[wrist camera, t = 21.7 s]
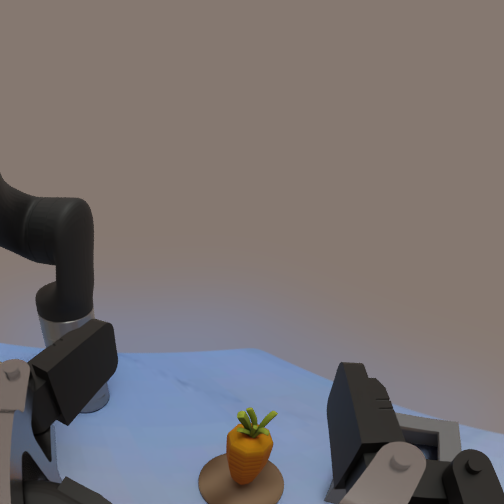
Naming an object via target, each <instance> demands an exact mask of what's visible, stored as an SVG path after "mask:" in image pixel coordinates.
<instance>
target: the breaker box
mask: <svg viewBox="0 0 504 504" xmlns="http://www.w3.org/2000/svg"><path fill="white" fill-rule="evenodd" d="M395 414H396V417H397V419H398V422H399V425H400V427H401V430H402V433H403V436H404V438H405V441H406V442H407V443H413V444H420V445H427V446H436V447H438V461H449V462H452V460H453V459H454V458H455V457H456V455H457V454H458V453H460V452H461V441H460V432H459V424H458V422H453V421H444V420H437V419H430V418H424V417H417V416H412V415H406V414H401V413H395ZM345 495H346V489H334V482H333V480H332V483H331V485H330V488H329V490H328V493H327V495H326V497H325V500H324V501H327V502H331V503H335V504H338V503H339V502H340V501H341V500H342V499H343V498H344V496H345Z"/></svg>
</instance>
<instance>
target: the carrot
mask: <svg viewBox="0 0 504 504" xmlns="http://www.w3.org/2000/svg"><path fill="white" fill-rule="evenodd" d="M246 410H247V412H248V415H249V417H250V419H251V422H252V423H251V422H250V419H249V417H248V415H247V414H246V412H245V411H240V412H238V414H237V418H238V420H239V421H240V422H241V424H238V425H237V426H236V427H235V428H234V429H232V430H231V431H230V432H229V433H228V435H227V450H226V455H227V461H228V466H229V470H230V474H231V477H232V478H233V480H234V481H235V482H237V483H238V484H240V485H245V484H249V483H250V482H252V481H253V480H254V479H255V478H256V477H257V476H258V474H259V473H260V472H261V471H262V469H263V468H264V466H265V465H266V463H267V461H268V458H269V456H270V453H271V450H272V447H273V441H272V438H271V435H270V432H269V430H268V429H266V428H264V427H265V426H266V425H267V424H268V423H269V422H270V421H271V420H272V419H273V418H274V417H275V416H276V415H277V414H278V413H277V412H275V411H272V412H270V413H269V414H268V415H267V416H266V417H265V418H264V419H263V421H262V422H261V423H260V425H258V424H257V417H256V414H255V412H254V410H253V408H247V409H246Z"/></svg>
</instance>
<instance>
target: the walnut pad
mask: <svg viewBox="0 0 504 504" xmlns="http://www.w3.org/2000/svg"><path fill="white" fill-rule="evenodd" d="M199 489H200V492H201V495H202V497H203V498H204V500H205V501H206V502H207V503H208V504H276V503H277V502H278V501H279V499H280V497H281V495H282V493H283V489H284V481H283V477H282V474H281V473H280V471H279V469H278V468H277V467H276V466H275V465H274V464H273V463H271V462H270V461H269V460H268V461H267V463H266V465H265V466H264V468H263V469H262V471H261V472H260V473H259V474H258V476H257V477H256V478H255V479H254V480H253V481H252V482H250V483H249V484H245V485H240V484H238V483H237V482H235V481H234V480H233V478H232V477H231V474H230V470H229V466H228V461H227V455H226V454H223V455H220V456H217V457H215V458H213V459H212V460H210V461H209V462H208V463H207V464H206V465H205V466H204V467H203V468H202V470H201V472H200V475H199Z"/></svg>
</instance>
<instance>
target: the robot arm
mask: <svg viewBox="0 0 504 504" xmlns="http://www.w3.org/2000/svg"><path fill="white" fill-rule="evenodd" d="M0 246H1V247H3V248H5V249H7V250H10V251H12V252H14V253H16V254H19V255H21V256H22V257H25V258H27V259H29V260H31V261H34V262H37V263H43V264H49V265H56V281H55V282H52V283H49V284H47V285H45V286H43V287H42V288H41V289H40V290H39V291H38V292H37V294H36V306H37V311H38V315H39V320H40V325H41V330H42V333H43V338H44V342H45V346H46V349H44V350H43V351H42V352H40V353H39V354H38V355H36V356H35V357H34V358H32V359H31V360H30V361H29V362H27V363H26V362H25V361H23V360H19V359H11V360H7V361H5V362H3V363H1V364H0V504H112V503H111V502H109V501H108V500H107V499H105V498H104V497H103V496H101V495H100V494H98V493H96V492H94V491H92V490H90V489H88V488H86V487H84V486H83V485H81V484H79V483H77V482H75V481H73V480H72V479H70V478H68V477H65V478H64V480H63V481H62V479H61V477H60V475H59V472H58V467H57V456H56V442H55V428H54V425H53V422H54V421H55V420H58V421H60V422H62V423H63V424H65V425H67V426H68V425H69V424H70V423H71V422H72V421H73V420H74V418H75V417H76V416H77V415H78V414H79V413H80V412H84V413H87V412H93V411H96V410H98V409H100V408H102V407H103V406H104V405H105V404H106V403H107V402H108V400H109V390H108V385H107V381H108V380H109V378H110V377H111V376H112V375H113V374H114V373H115V371H116V368H117V364H118V356H117V350H116V343H115V336H114V329H113V326H112V324H110V323H108V322H104V321H101V320H97V319H95V317H94V308H93V287H94V268H93V249H94V225H93V217H92V213H91V209H90V207H89V205H88V204H87V203H86V201H84V200H83V199H80V198H66V197H65V198H59V197H56V198H51V197H44V198H43V197H35V196H31V195H28V194H26V193H23V192H21V191H19V190H17V189H15V188H13V187H11V186H9V185H8V184H7V183H6V182H5V181H4V180H3V178H2V176H1V174H0ZM327 419H328V428H329V438H330V448H331V458H332V470H333V482H334V489H346V495H345V496H344V498H343V499H342V500H341V501H340V502H339V503H338V504H504V492H503V490H502V487H501V485H500V482H499V480H498V477H497V475H496V473H495V470H494V468H493V466H492V463H491V461H490V460H489V458H488V457H487V456H486V455H485V454H484V453H482V452H480V451H477V450H473V449H468V450H464V451H462V452H460V453H458V454H457V455H456V457H455V458H454V459H453V460H452V462H449V461H437V460H429V459H425V456H424V454H423V453H422V451H421V450H420V449H419V448H417V447H416V446H414V445H412V444H410V443H406V441H405V438H404V436H403V433H402V430H401V427H400V425H399V422H398V419H397V417H396V414H395V411H394V410H393V406H392V404H391V401H389V396H388V393H387V391H386V388H385V387H384V386H383V385H382V384H381V383H380V382H379V381H378V380H377V379H376V378H368V375H367V373H366V370H365V367H364V365H363V364H362V363H346V362H341V363H340V364H339V366H338V369H337V372H336V376H335V379H334V382H333V385H332V388H331V392H330V395H329V398H328V403H327Z"/></svg>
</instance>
